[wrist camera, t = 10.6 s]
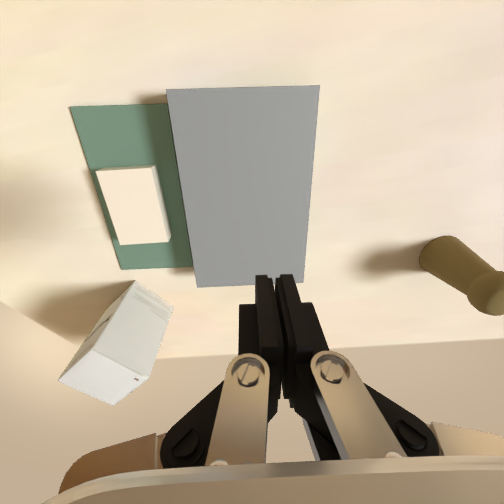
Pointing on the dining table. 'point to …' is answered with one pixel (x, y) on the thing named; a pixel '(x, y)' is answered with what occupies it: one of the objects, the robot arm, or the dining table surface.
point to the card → (135, 203)
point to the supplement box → (120, 346)
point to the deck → (245, 178)
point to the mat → (136, 154)
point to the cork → (465, 273)
